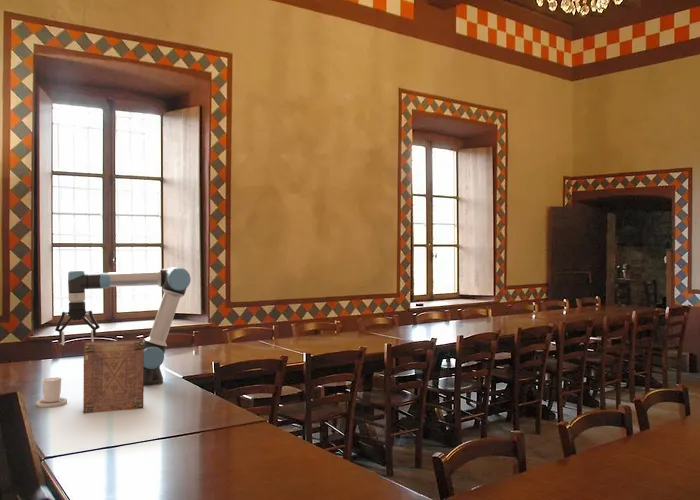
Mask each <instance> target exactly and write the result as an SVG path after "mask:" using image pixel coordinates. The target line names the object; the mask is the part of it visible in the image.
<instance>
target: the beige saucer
mask: <svg viewBox="0 0 700 500" xmlns="http://www.w3.org/2000/svg"><path fill="white" fill-rule="evenodd" d="M35 404H36V405H35V406H36V407H38V408H42V409H43V408H57V407H61V406H65V405H67V404H68V398H65V397H60V400H59V401H55V402H44V398H43V399H42V398H41V399H39V400H37V401H36V402H35Z"/></svg>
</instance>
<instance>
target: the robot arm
mask: <svg viewBox="0 0 700 500" xmlns="http://www.w3.org/2000/svg"><path fill="white" fill-rule="evenodd" d="M67 276H68V277H67V278H68V279H67V287H68V288H67V289H68V311H62V312H61V317H60V318H59V321H58V323H57V325H56V327H55V328H54V331H55V332H58V334H59V335H58V336H59V339H61V346H64V345H65V331H64V330H65V329H66V327H67V326H68V325H69V324H70V322H71V321H83V322H84V323H86V324H87V326H88V327H89V328H91V332H90V335H91V336H90V337H91V341H90V342H95V341H94V340H95V339H94V338H95V337H97V333H96V332H97V331H96V330H98V329H100V324H99V323H98V322H97V320H96V317H95V316H94V314H93V310H91V309H90V310H86V301H85V300H86V290H93V289H94V290H96V289H97V290H98V289H100V290H101V289H102V290H103V289H110V288H115V287H136V286H137V287H142V286H158V287H159V288H162V291H163V296H162V298H161V301H160V304H159V307H158V310H157V312H156V315H155V318H154V322H153V325H152V328H151V331H150V333H149V335H148V337H147V338H145V339H144V340H143V342H144V387H149V386H156V385H160V384H163V383H164V377H163V373H162V370H161V367H160V366H161V365H162V364H163V363H164V361H165V353H166V350H167V347H168V345H167V342H166V340H167V338H168V335H169V332H170V329H171V326H172V323H173V320H174V317H175V314H176V312H177V308H178V306H179V302H180V299H181V298H183V297H184V296H185V294H186V291H187V289H188V287H190V284H191V278H192V277H191V274H190V273H189V271H188V270H187V269H185V268H183V267H180V266H174V267H169V268H160V269H158V270H151V271H149V270H148V271H147V270H146V271H145V270H143V271H121V272H120V271H119V272H117V271H115V272H94V273H90V274H89V273H85V271H84V270H83V269H82V270H80V269H78V270H70V271H68V274H67ZM67 315H68V316H69V318H68V319H67V321H65V323H64V324H63V321H64V319H65V317H67ZM86 315H87V316H89V318H90V319H91V321H92V323H91V321H90V320H89V319H88V318H87V317H86ZM62 324H63V325H62ZM61 325H62V326H61ZM94 325H95V326H94Z"/></svg>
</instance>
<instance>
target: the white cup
mask: <svg viewBox="0 0 700 500" xmlns="http://www.w3.org/2000/svg"><path fill="white" fill-rule="evenodd" d="M61 388H62V377H55V376H54V377H47V378H43V379H42V395H43V399H44V402H55V401H59V400H60V398H61V390H62V389H61Z"/></svg>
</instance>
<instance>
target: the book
mask: <svg viewBox="0 0 700 500" xmlns="http://www.w3.org/2000/svg"><path fill="white" fill-rule="evenodd" d="M143 341H144V340H143V339H129V340H127V339H126V340H123V339H122V340H106V341H105V340H103V341H100V340H98V341H94V342H91V341H84V345H83V400H82V401H83V402H82V403H83V406H82V407H83V410H82V412H83V413H84V414H91V413H92V414H93V413H102V412H114V411H128V410H138V409H144V391H145V390H144V389H145V388H144V387H145V386H144V342H143Z"/></svg>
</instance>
